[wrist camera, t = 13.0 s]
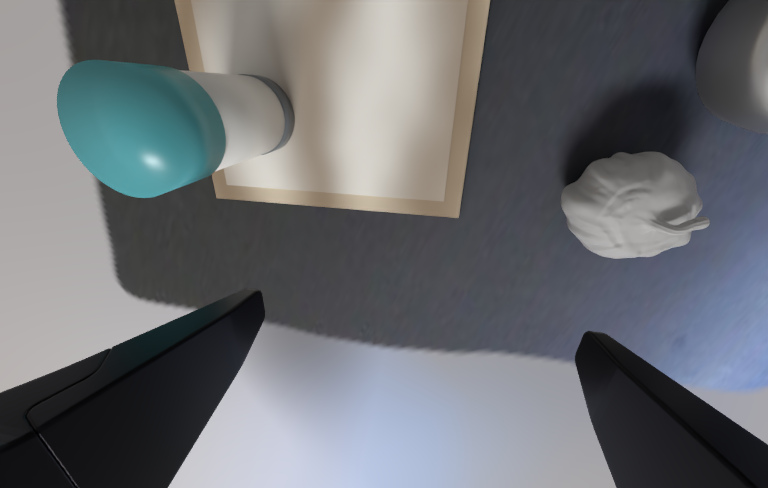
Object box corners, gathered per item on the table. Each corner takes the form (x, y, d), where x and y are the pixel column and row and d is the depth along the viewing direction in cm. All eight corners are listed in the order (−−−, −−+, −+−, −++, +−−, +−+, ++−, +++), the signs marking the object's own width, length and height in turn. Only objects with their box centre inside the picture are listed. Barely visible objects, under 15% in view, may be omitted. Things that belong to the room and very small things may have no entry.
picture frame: (536, -331, 11) (541, -354, 10) (457, 215, 20) (458, 218, 19) (123, -280, 13) (109, -296, 12) (221, 195, 22) (215, 198, 21)
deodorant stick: (291, 75, 17) (159, 61, 9) (298, 154, 19) (194, 202, 11) (220, 73, 18) (34, 58, 9) (233, 150, 19) (87, 193, 11)
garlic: (690, 161, 17) (789, 189, 12) (628, 248, 19) (690, 299, 14) (580, 129, 17) (634, 144, 12) (532, 220, 19) (562, 261, 15)
